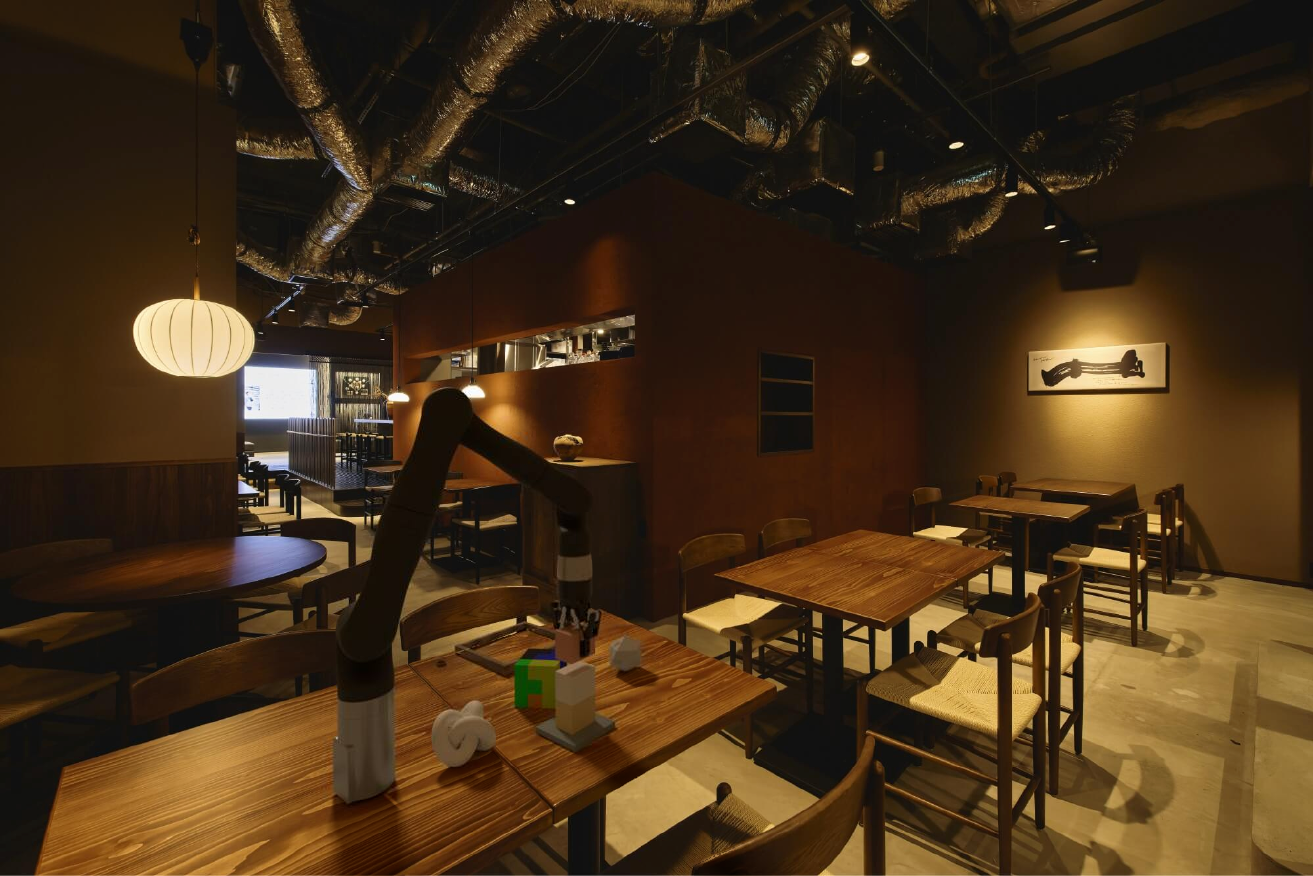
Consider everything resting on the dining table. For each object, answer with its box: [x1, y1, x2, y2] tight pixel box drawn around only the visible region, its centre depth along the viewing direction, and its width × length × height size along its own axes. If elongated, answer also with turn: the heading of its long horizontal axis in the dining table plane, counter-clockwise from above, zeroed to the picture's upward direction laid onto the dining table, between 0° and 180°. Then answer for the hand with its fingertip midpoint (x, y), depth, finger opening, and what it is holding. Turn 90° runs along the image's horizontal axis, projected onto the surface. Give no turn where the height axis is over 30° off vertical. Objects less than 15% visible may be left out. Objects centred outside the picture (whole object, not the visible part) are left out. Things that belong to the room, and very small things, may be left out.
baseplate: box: [535, 712, 616, 753], centre depth 117 cm, size 12×12×1 cm
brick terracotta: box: [554, 622, 596, 665], centre depth 117 cm, size 7×5×6 cm
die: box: [609, 634, 643, 672], centre depth 145 cm, size 8×9×10 cm
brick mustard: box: [555, 693, 596, 735], centre depth 117 cm, size 7×5×6 cm
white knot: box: [431, 700, 497, 768], centre depth 108 cm, size 11×12×9 cm
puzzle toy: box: [513, 647, 568, 710], centre depth 131 cm, size 10×10×10 cm
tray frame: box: [454, 621, 556, 676], centre depth 159 cm, size 25×23×3 cm
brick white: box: [555, 660, 596, 706], centre depth 117 cm, size 7×5×6 cm
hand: (575, 652), depth 117 cm, fingers closed on brick terracotta, 5 cm apart
